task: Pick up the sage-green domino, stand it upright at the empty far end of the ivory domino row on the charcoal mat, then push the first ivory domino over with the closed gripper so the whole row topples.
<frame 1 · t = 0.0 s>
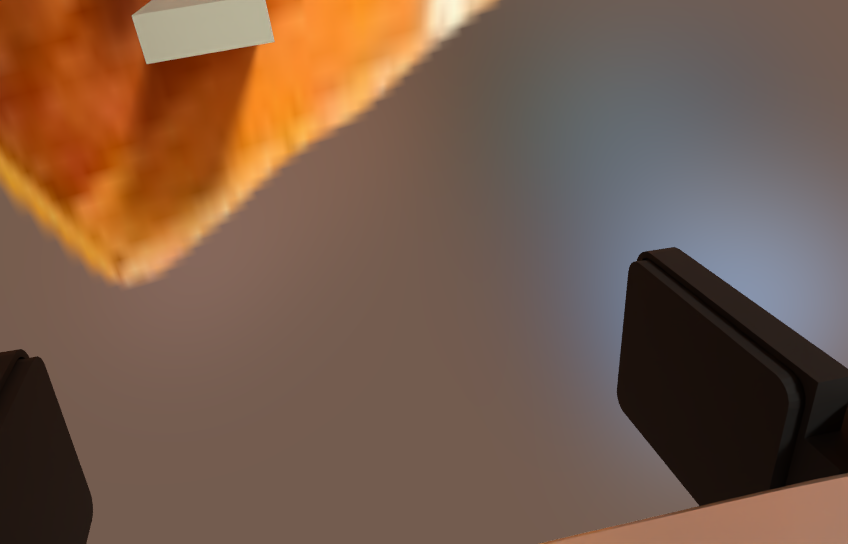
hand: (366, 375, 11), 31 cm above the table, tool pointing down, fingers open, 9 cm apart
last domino: (213, 4, 36), on the table
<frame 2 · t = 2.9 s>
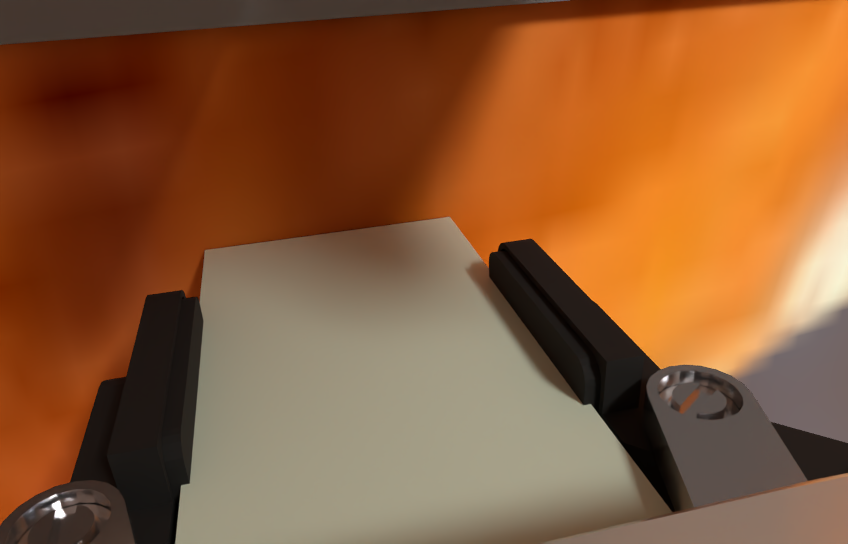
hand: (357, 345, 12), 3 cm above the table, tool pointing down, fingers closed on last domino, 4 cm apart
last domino: (336, 272, 14), on the table, touching gripper
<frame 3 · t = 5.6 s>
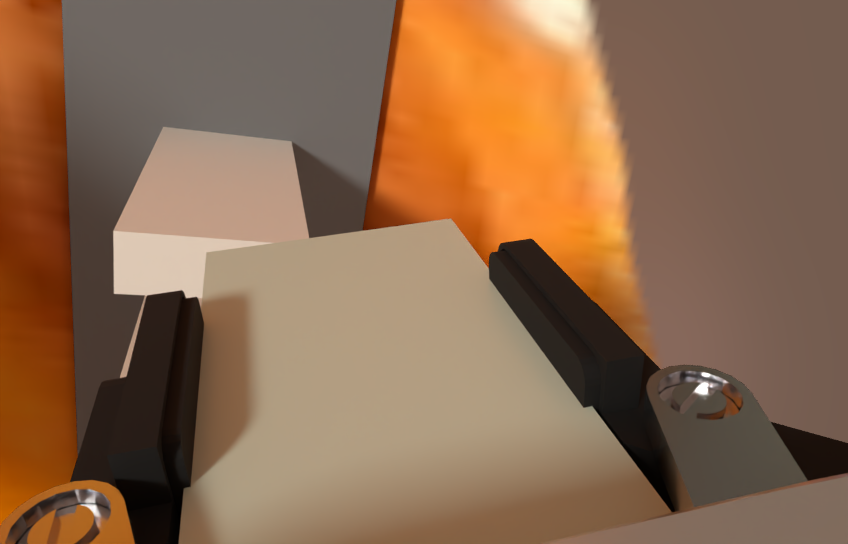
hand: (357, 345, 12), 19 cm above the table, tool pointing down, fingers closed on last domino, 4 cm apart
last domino: (337, 274, 14), point 16 cm above the table, touching gripper
domino 4: (227, 155, 28), resting on mat
domino 3: (221, 266, 30), resting on mat
mat: (222, 241, 30), on the table
when the fingers open (4 cm above the table, at t = 8.2 s): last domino stays where it is, resting on mat.
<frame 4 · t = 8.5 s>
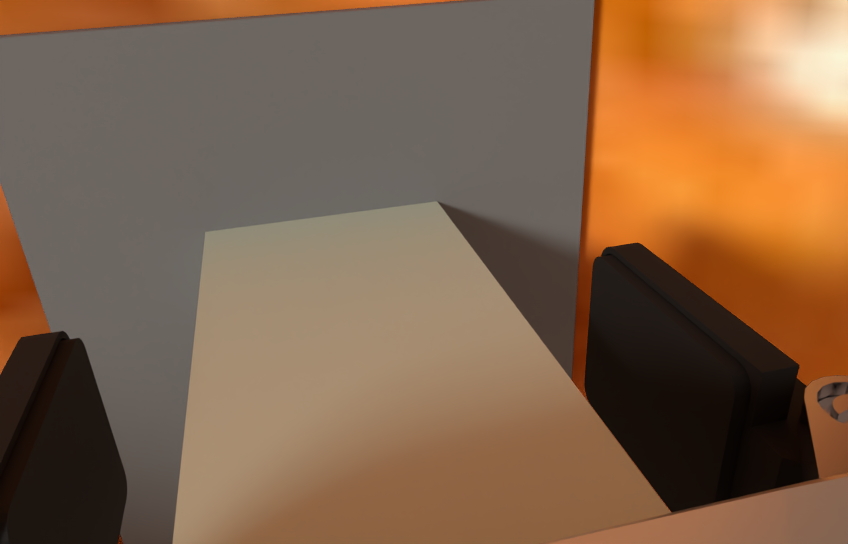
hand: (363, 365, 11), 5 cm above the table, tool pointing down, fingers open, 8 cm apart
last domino: (329, 253, 15), resting on mat
mat: (363, 533, 20), on the table
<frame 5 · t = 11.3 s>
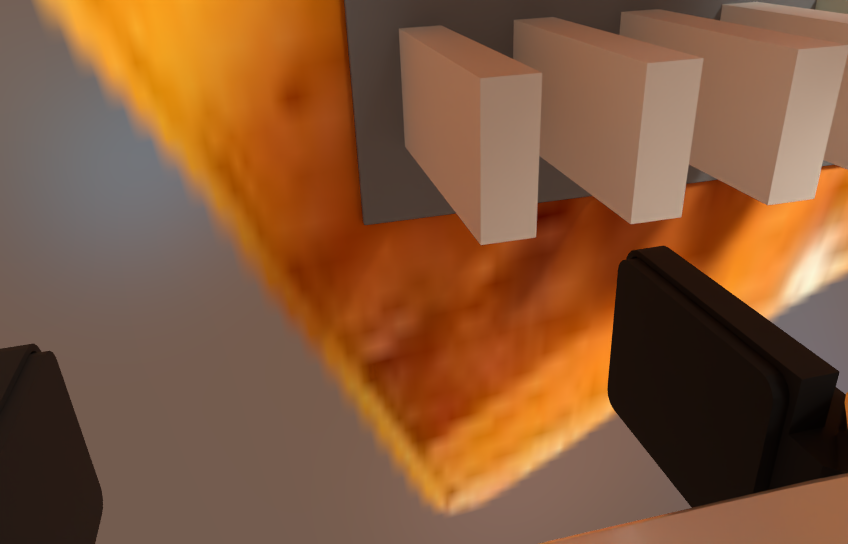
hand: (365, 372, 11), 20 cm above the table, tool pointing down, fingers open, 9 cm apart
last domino: (822, 50, 33), resting on mat
domino 1: (422, 87, 30), resting on mat
domino 4: (731, 59, 32), resting on mat
domino 3: (634, 68, 32), resting on mat
domino 2: (531, 77, 31), resting on mat
mat: (649, 65, 32), on the table
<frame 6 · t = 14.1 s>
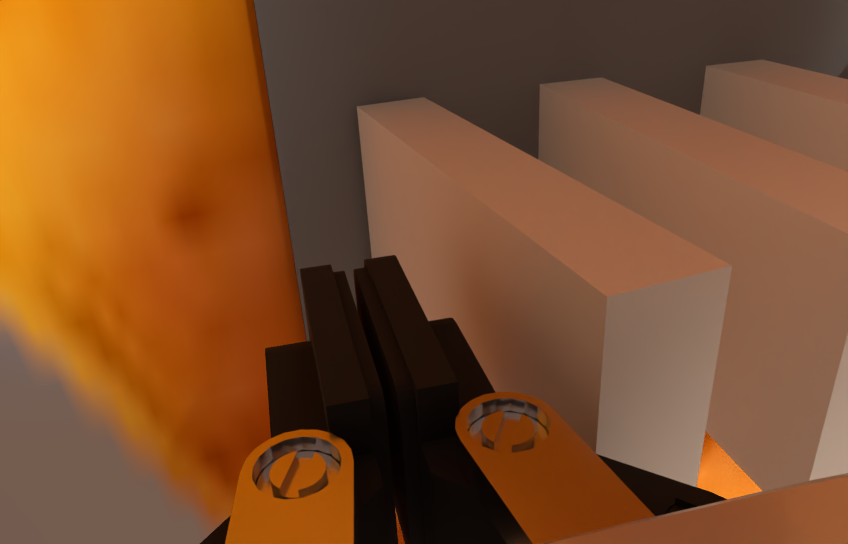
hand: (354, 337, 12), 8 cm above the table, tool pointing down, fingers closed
domino 1: (397, 193, 19), point 1 cm above the table, tilted 7°, touching gripper, mat
domino 3: (722, 148, 21), resting on mat
domino 2: (567, 169, 20), resting on mat
mat: (743, 140, 21), on the table
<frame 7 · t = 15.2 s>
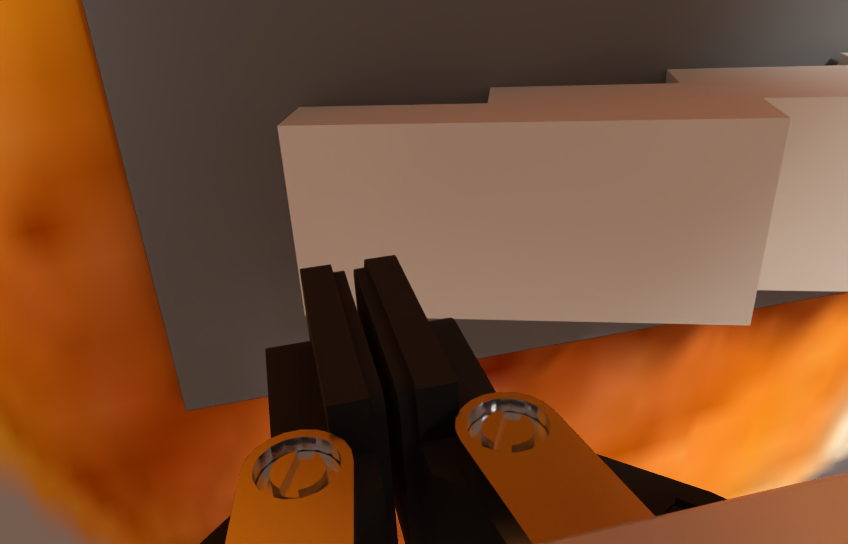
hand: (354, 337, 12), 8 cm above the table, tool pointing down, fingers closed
domino 1: (302, 213, 18), point 1 cm above the table, tilted 69°, touching domino 2
domino 3: (662, 165, 20), point 1 cm above the table, tilted 69°, touching domino 2, domino 4, mat
domino 2: (489, 188, 19), point 1 cm above the table, tilted 69°, touching domino 1, domino 3, mat
mat: (631, 154, 21), on the table
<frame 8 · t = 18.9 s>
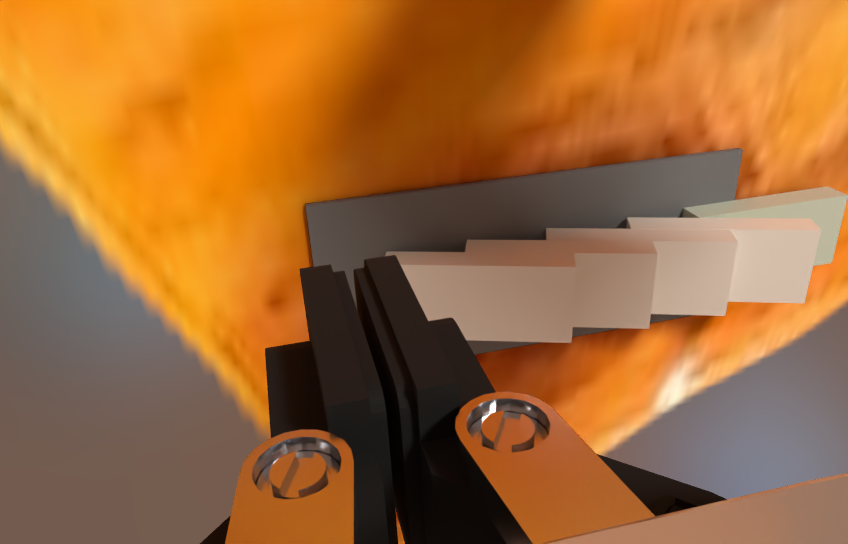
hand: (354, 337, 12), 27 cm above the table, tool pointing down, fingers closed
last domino: (686, 248, 45), point 1 cm above the table, tilted 90°, touching domino 4, mat
domino 1: (387, 295, 42), point 1 cm above the table, tilted 69°, touching domino 2
domino 4: (625, 258, 44), point 1 cm above the table, tilted 69°, touching domino 3, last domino
domino 3: (545, 270, 44), point 1 cm above the table, tilted 69°, touching domino 2, domino 4, mat
domino 2: (466, 282, 43), point 1 cm above the table, tilted 69°, touching domino 1, domino 3, mat
mat: (533, 262, 45), on the table
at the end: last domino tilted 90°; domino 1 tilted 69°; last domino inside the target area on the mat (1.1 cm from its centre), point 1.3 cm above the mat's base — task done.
